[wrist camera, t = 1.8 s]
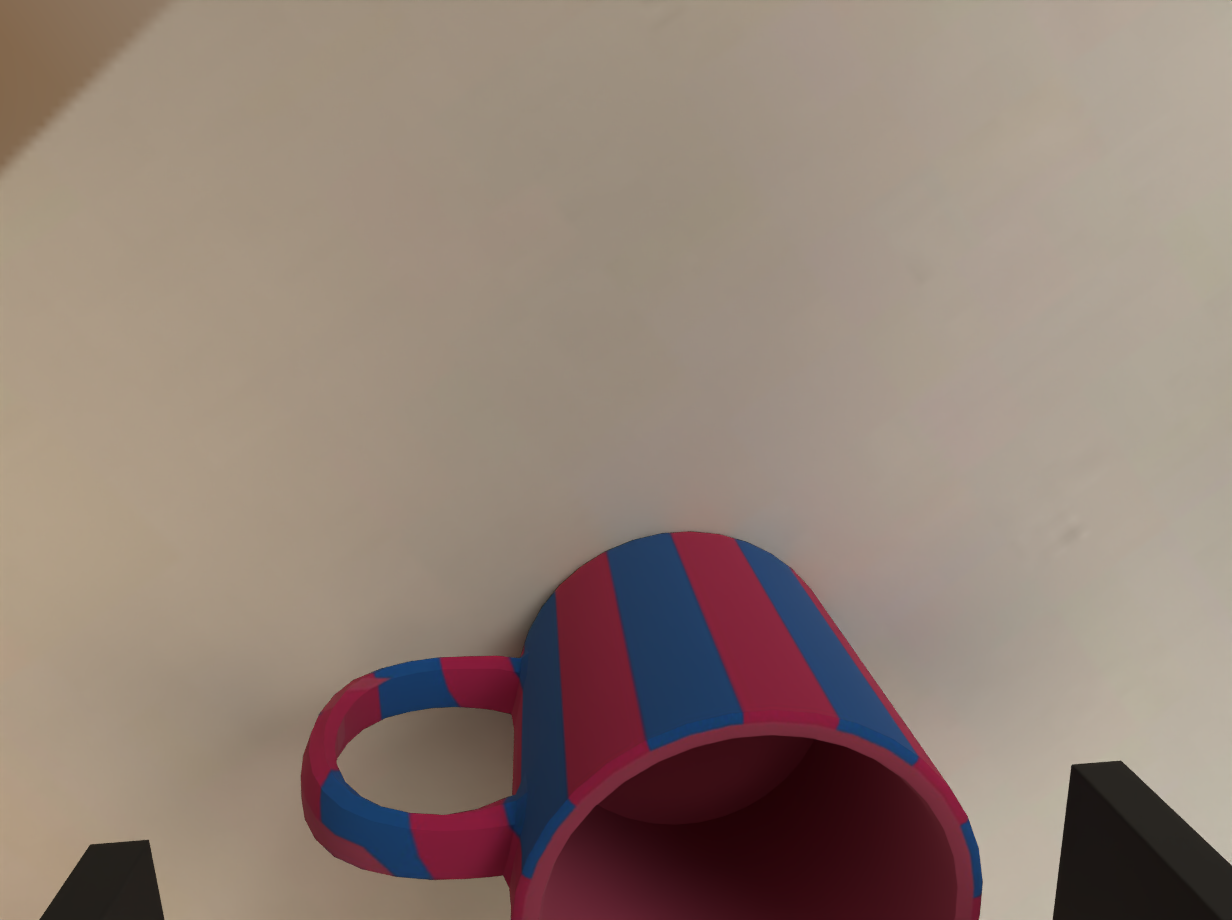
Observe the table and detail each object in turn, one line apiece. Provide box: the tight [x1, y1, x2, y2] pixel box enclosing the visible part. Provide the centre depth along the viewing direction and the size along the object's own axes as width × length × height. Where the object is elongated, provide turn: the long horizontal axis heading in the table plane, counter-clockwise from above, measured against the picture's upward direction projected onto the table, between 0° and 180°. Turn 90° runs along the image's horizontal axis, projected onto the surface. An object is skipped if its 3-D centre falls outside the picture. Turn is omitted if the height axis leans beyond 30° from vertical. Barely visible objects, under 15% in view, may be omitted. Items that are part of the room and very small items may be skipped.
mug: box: [301, 531, 983, 920], centre depth 16 cm, size 7×10×7 cm
